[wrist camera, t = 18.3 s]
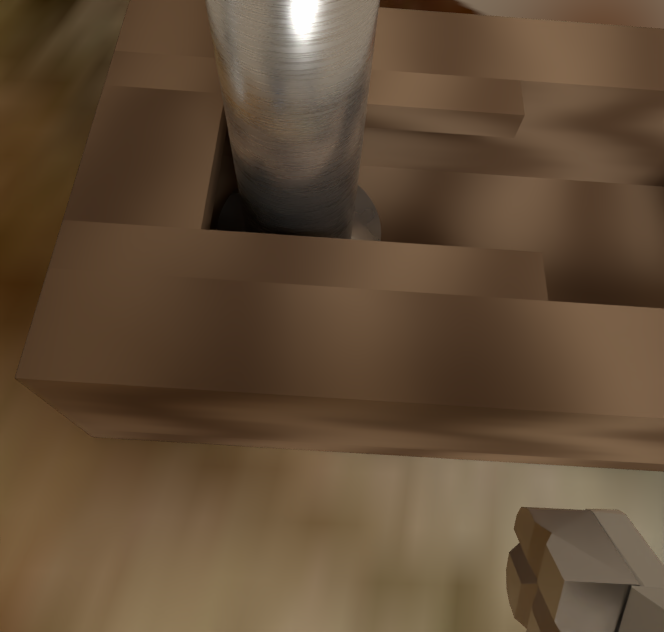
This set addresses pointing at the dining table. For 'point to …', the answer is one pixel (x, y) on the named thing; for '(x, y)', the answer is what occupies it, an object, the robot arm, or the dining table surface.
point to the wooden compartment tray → (377, 255)
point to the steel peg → (296, 114)
